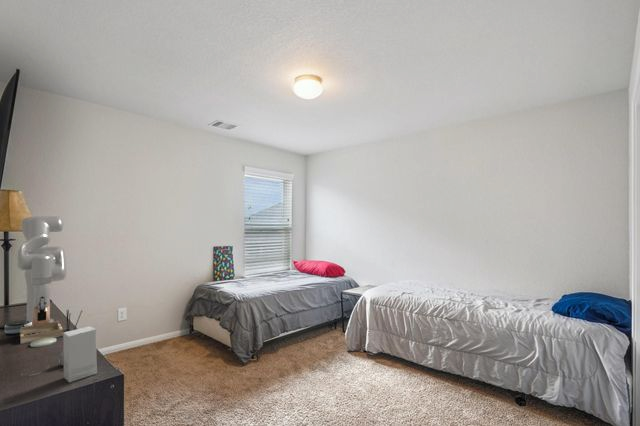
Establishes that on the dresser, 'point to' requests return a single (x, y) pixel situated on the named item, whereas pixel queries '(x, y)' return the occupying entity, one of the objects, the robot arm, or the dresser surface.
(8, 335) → the dresser surface
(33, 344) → the pale mint disc
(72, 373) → the skincare box
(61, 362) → the reed diffuser
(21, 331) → the wooden frame
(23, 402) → the dresser surface
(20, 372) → the dresser surface
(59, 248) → the robot arm
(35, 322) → the terracotta pot
